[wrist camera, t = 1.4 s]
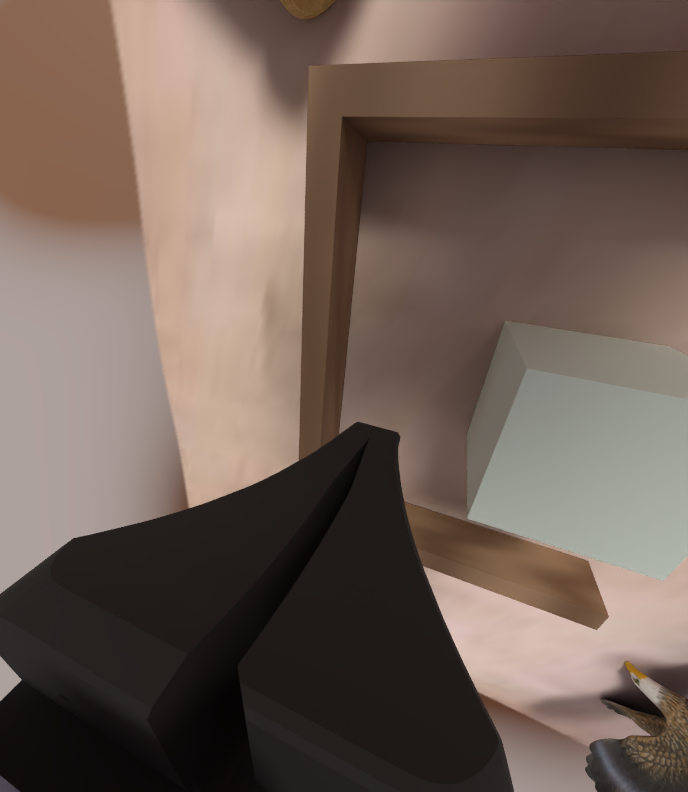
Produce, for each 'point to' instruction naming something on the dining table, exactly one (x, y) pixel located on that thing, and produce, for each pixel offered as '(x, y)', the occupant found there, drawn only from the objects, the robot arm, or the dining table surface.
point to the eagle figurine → (645, 746)
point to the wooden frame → (462, 124)
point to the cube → (584, 446)
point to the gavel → (306, 7)
